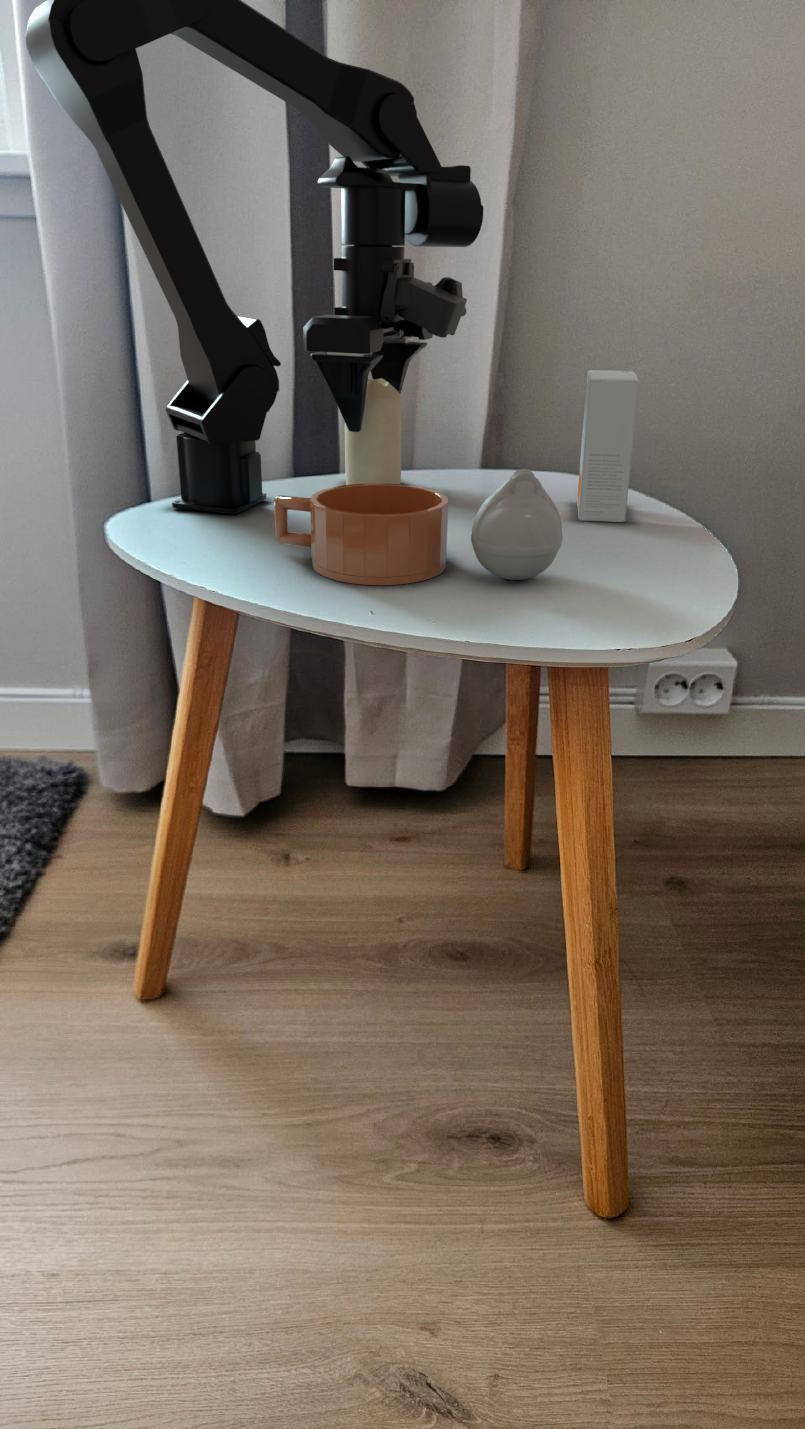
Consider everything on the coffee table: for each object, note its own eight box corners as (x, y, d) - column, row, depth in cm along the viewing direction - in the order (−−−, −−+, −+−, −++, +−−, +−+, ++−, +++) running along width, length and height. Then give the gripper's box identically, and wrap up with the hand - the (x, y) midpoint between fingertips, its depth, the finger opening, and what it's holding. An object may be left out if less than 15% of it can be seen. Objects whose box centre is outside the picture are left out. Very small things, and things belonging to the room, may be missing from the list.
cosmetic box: (575, 504, 93) (587, 369, 88) (621, 506, 92) (636, 371, 87) (576, 521, 87) (589, 378, 82) (625, 523, 87) (641, 379, 82)
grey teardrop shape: (542, 561, 76) (550, 455, 73) (570, 589, 70) (580, 475, 66) (458, 564, 75) (462, 456, 72) (479, 593, 69) (485, 477, 66)
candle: (394, 492, 96) (395, 384, 92) (339, 489, 97) (337, 382, 93) (405, 480, 101) (407, 377, 97) (353, 477, 102) (352, 375, 98)
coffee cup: (461, 554, 78) (464, 490, 75) (421, 592, 69) (423, 521, 67) (303, 536, 82) (301, 475, 79) (246, 570, 73) (243, 502, 71)
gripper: (425, 247, 79) (421, 447, 86) (486, 248, 95) (478, 416, 102) (298, 245, 83) (303, 437, 89) (377, 246, 99) (376, 409, 105)
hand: (372, 424), depth 96 cm, fingers open, 9 cm apart
